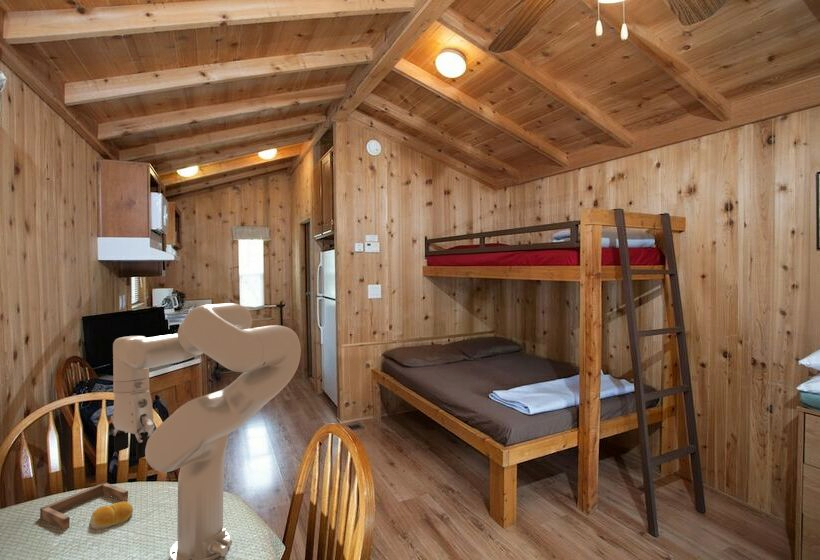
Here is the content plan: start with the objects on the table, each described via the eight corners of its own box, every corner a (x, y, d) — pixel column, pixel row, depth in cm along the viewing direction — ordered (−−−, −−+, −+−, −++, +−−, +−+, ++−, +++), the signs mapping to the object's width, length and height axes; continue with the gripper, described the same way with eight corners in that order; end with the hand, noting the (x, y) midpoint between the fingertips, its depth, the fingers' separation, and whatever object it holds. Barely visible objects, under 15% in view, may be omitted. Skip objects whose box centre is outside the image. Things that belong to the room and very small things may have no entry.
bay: (128, 499, 117) (128, 490, 117) (63, 529, 103) (63, 519, 103) (104, 490, 122) (104, 482, 122) (40, 517, 108) (40, 508, 108)
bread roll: (136, 519, 108) (136, 504, 108) (93, 534, 102) (94, 518, 102) (128, 506, 114) (128, 492, 114) (87, 520, 107) (87, 505, 107)
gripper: (167, 385, 104) (167, 454, 104) (128, 378, 112) (128, 442, 112) (135, 393, 97) (136, 466, 97) (96, 385, 105) (97, 452, 105)
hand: (132, 453), depth 104 cm, fingers open, 9 cm apart
